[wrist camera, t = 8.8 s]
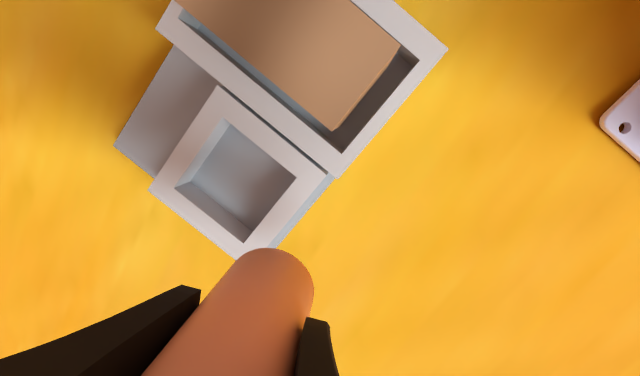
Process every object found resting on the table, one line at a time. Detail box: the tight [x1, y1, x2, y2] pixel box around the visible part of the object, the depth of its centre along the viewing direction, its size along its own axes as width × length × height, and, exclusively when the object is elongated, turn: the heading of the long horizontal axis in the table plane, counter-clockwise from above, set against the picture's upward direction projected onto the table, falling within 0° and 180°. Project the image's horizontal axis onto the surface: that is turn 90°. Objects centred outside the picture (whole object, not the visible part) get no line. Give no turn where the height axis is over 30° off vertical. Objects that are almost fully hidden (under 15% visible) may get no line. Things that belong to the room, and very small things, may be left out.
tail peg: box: [141, 248, 314, 376], centre depth 8 cm, size 3×3×6 cm
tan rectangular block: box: [174, 0, 401, 131], centre depth 13 cm, size 8×3×5 cm, turn 51°
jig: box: [113, 0, 448, 260], centre depth 15 cm, size 10×14×3 cm
